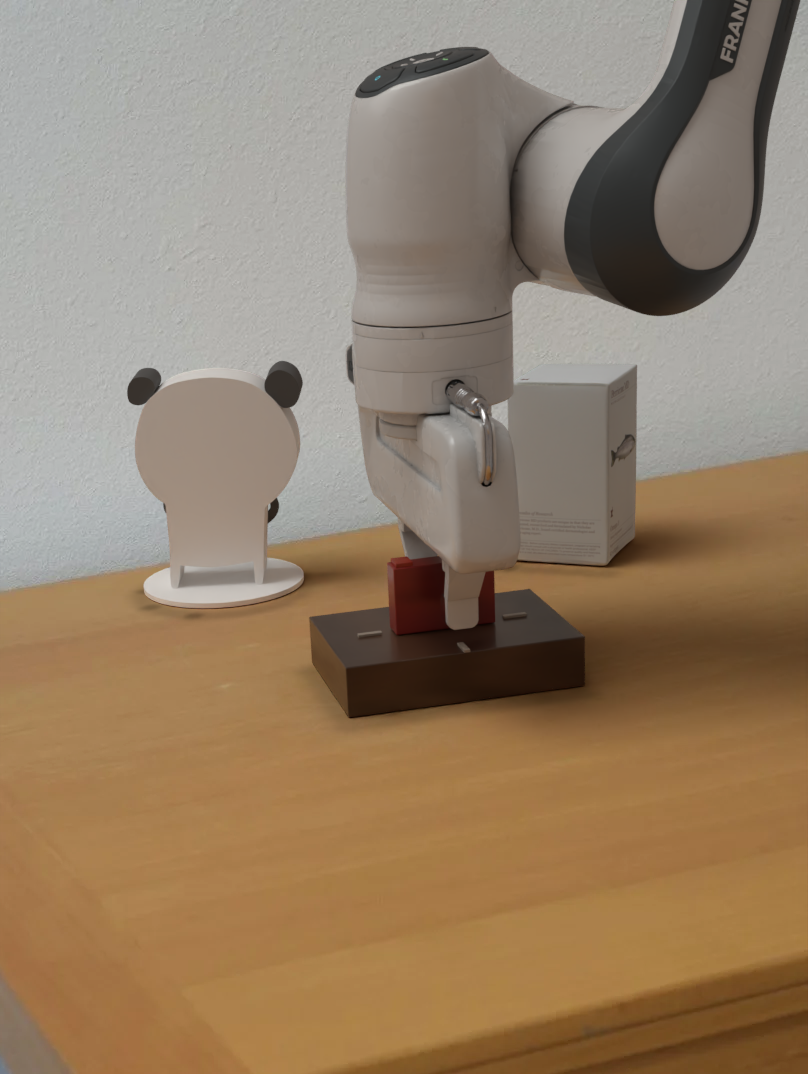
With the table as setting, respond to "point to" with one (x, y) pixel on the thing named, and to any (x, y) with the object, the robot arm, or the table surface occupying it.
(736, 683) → the table surface
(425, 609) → the red rectangular block
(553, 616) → the stamp base
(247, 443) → the panda figurine
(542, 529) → the white packaging box
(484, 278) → the robot arm
